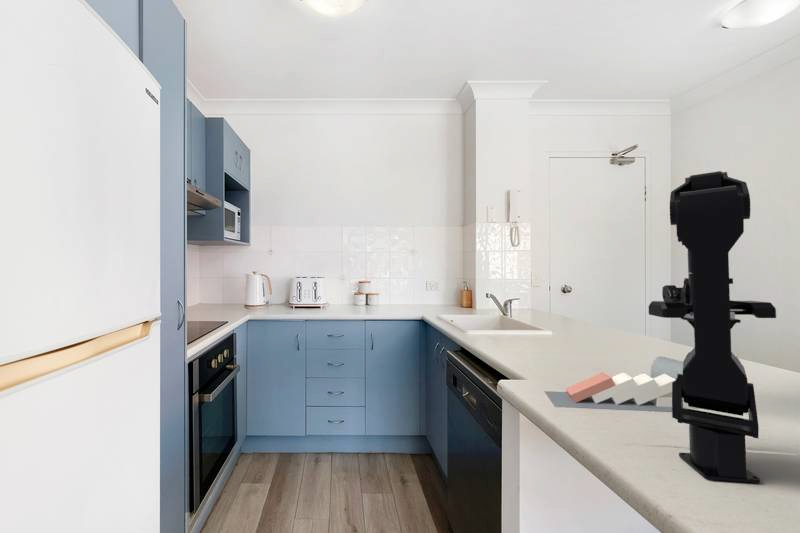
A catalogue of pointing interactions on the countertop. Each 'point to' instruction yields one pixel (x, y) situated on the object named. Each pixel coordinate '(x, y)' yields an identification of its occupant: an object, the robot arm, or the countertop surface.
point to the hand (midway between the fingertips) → (710, 354)
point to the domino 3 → (636, 388)
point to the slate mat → (601, 403)
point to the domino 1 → (590, 387)
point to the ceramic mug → (666, 367)
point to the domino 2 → (615, 387)
